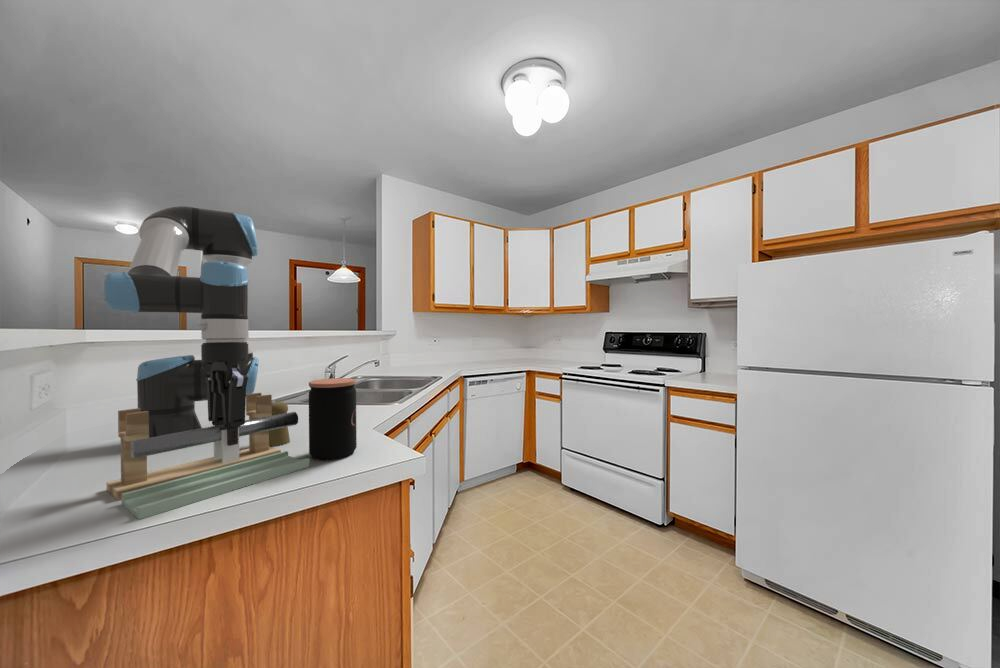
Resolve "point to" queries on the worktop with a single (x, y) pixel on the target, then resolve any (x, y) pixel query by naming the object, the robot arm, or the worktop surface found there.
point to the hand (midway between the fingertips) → (226, 459)
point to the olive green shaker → (281, 434)
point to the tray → (208, 484)
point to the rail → (207, 435)
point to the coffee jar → (332, 418)
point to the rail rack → (135, 470)
